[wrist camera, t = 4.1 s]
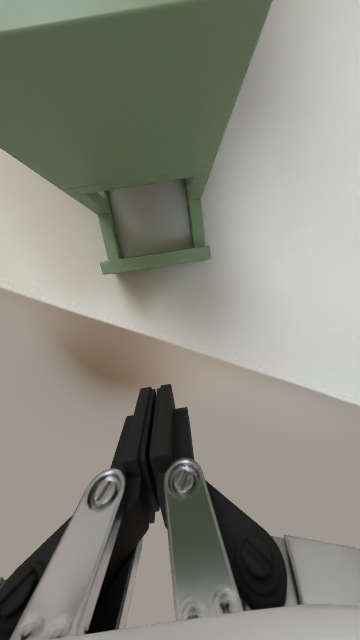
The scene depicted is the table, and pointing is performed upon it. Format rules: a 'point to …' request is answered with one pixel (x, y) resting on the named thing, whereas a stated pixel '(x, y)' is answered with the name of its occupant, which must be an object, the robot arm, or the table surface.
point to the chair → (123, 97)
